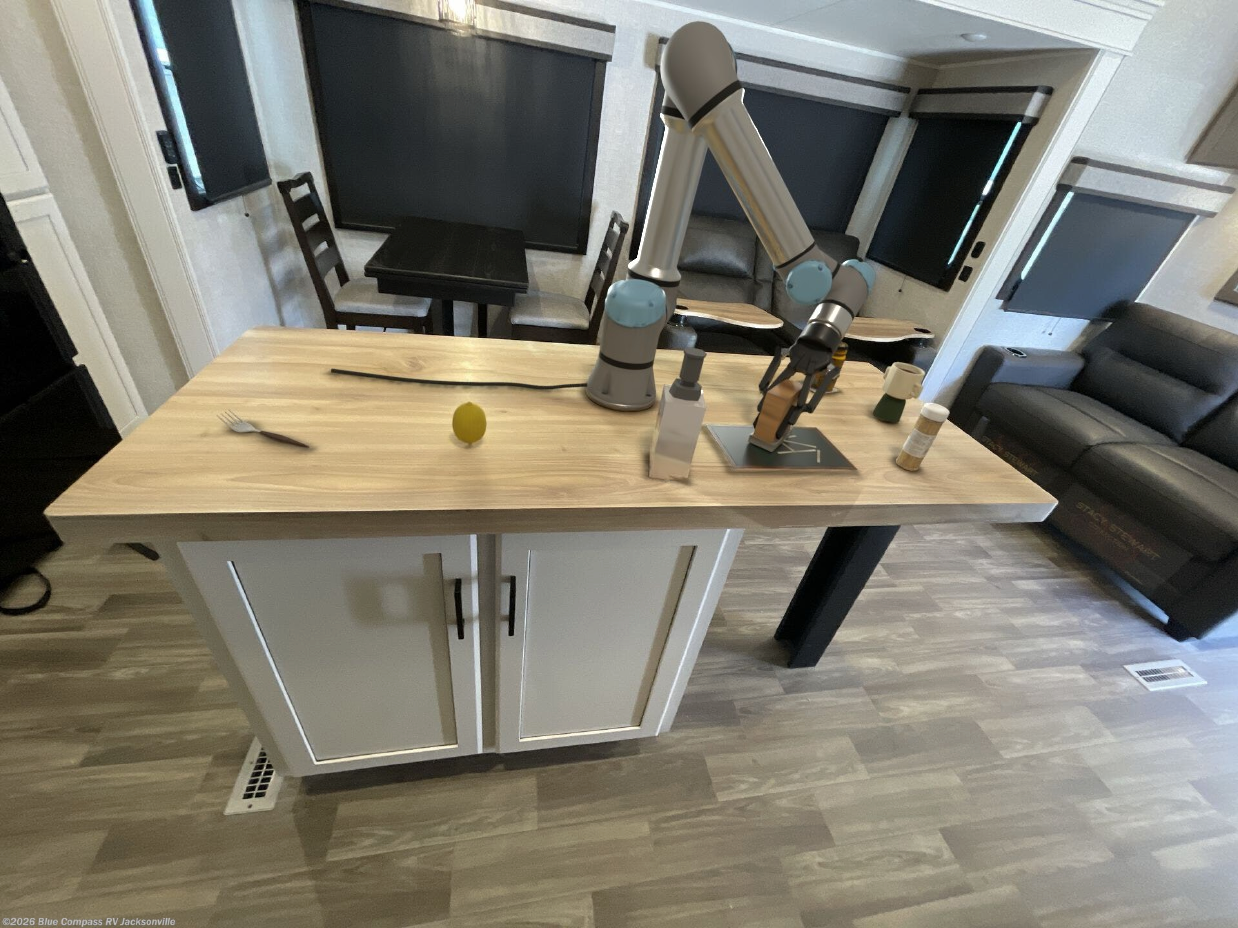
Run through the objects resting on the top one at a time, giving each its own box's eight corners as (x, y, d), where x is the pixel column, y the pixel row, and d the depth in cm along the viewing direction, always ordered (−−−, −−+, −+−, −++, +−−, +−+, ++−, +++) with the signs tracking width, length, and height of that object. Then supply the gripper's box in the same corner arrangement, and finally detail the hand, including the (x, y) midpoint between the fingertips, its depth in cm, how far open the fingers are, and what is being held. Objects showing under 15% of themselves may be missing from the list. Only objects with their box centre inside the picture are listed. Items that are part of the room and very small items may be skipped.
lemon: (457, 454, 88) (456, 412, 83) (449, 437, 92) (448, 396, 87) (490, 450, 90) (491, 408, 86) (481, 433, 94) (481, 393, 90)
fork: (303, 454, 82) (301, 443, 81) (218, 426, 84) (215, 415, 83) (316, 446, 84) (314, 435, 83) (232, 419, 86) (229, 408, 85)
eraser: (771, 452, 102) (789, 401, 96) (747, 441, 104) (763, 391, 98) (790, 435, 109) (808, 386, 103) (767, 425, 111) (783, 377, 105)
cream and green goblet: (912, 429, 123) (939, 379, 116) (889, 430, 121) (915, 379, 114) (880, 407, 132) (903, 358, 125) (858, 408, 129) (880, 358, 122)
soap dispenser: (682, 455, 98) (711, 342, 86) (686, 482, 91) (718, 363, 79) (648, 450, 98) (672, 336, 86) (649, 477, 91) (675, 356, 79)
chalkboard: (732, 472, 96) (733, 467, 95) (703, 427, 109) (704, 423, 108) (855, 473, 102) (857, 469, 102) (814, 431, 115) (816, 427, 115)
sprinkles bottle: (904, 458, 111) (934, 401, 103) (922, 470, 107) (955, 412, 100) (890, 461, 109) (919, 402, 101) (908, 473, 105) (940, 414, 98)
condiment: (839, 391, 137) (857, 347, 130) (819, 395, 132) (837, 350, 126) (817, 379, 142) (833, 336, 135) (796, 383, 137) (813, 338, 131)
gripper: (864, 357, 104) (808, 457, 102) (784, 329, 112) (729, 422, 109) (868, 336, 98) (808, 442, 95) (782, 309, 105) (724, 406, 102)
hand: (766, 431), depth 102 cm, fingers closed on eraser, 4 cm apart
